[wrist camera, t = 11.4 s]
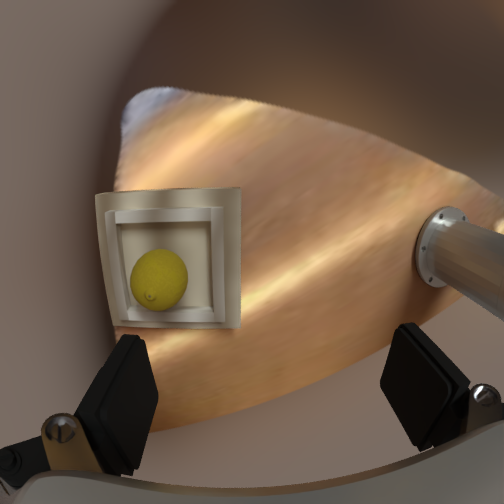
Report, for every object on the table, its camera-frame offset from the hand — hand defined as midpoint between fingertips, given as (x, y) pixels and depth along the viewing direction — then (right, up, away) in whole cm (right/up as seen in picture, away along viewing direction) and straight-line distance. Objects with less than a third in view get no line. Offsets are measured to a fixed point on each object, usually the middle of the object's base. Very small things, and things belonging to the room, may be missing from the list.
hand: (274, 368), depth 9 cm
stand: (-10, +4, +23) cm, 26 cm away
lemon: (-10, +3, +20) cm, 23 cm away
